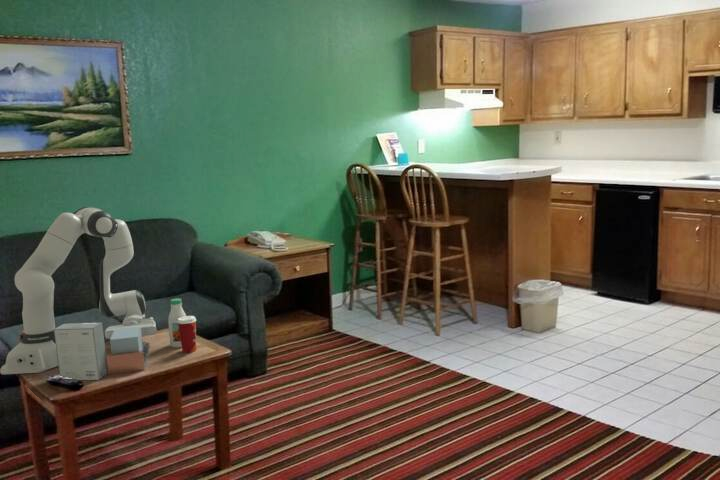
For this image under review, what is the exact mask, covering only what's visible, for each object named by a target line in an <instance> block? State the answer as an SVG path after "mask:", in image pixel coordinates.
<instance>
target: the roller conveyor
mask: <svg viewBox="0 0 720 480" xmlns="http://www.w3.org/2000/svg"><path fill="white" fill-rule="evenodd" d="M142 344H143V350H142V351H135V352H126V353H118V354H112V353H110V354H109V353H108V354H106V360H107V368H108V373H107V374H108V375H113V374H121V373H129V372H135V371H136V372H138V371H145V368H146V364H147V359H148V357H149V352H150V342H145V341H142Z"/></svg>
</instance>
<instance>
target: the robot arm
mask: <svg viewBox="0 0 720 480" xmlns="http://www.w3.org/2000/svg"><path fill="white" fill-rule="evenodd" d="M83 234H87V235H89V236H93V237H97V238H102V239H103V242H104V248H105V255H104V258H103V259H101V261H100V264H99V305H98V306H99V307H98V308H99V313H100V314H101V315H102V316H104V317H105V318H108V319H111V318H116V317H118V316H123V315H125V317H124V319H123V321H122V324H117V325H112V326H111V325H110V326H108V327H107V328H106V329H105V330H104V339H106V340H110V339H111V336H112V334H113V332H114V329H123V328H132V327H141V334H142V336H148V335H156V334H157V325H156V324H157V323H156V321H155V320H154V317H152V316H146V315H145V313H146V312H147V302H146V299H145V296H144V294H143V293H142V292H141V291H140V290H137V289H134V290H133V289H132V290H129V291H122V292H117V293H112V292H111V275H112V274H113V273H114V272H116V271H117V270H119V269H121V268H123V267H124V266H126V265H128V264H129V263H130V262H131V261H132V259H133V257H134V255H135V254H134V253H135V252H134V243H133V239H132V235H131V231H130V230H129V226H128V225H127V223H126V222H125V220H122V219H118V218H117V219H114V217H113V216H112V215H111V214H110V213H109V212H107V211H104V210H102V209H100V208H98V207H92V206H83V207H81V208H78V209H77V210H76V211H74V212H73V213H72V212H62V213H61V214H59V215H58V216H57V217H56V219H54V221H53V222H52V224H51V225H50V227H49V228H48V229H47V231H46V233H45V234H44V236H43V237H42V239H41V241H40V242H39V244H38V246H37V247H36V249H35V250H34V252H32V254H31V255H30V257H29V258H28V259H27V260H26V261H25V262H24V264H23V265H22V267H21V268H20V269H18V271H16V272H15V275H14V286H15V287H16V289H17V290H18V291H19V292H21V294H22V312H21V316H22V322H23V323H22V324H23V330H22V331H21V332H20V334H19V337H18V341H19V343H18V344H17V345H16V346H15V347H14V348H12V349H11V350H10V351H9V352H8V353H7V356H6V360H5V364H3V365H2V366H1V368H0V374H1V375H19V374H21V375H22V374H33V373H34V374H36V373H37V374H38V373H42V372H45V371H46V370H49V369H53V368H56V367H59V366H58V359H57V351H56V344H55V336H54V329H55V328H57V327H56V324H55V323H56V322H55V315H54V314H55V313H54V312H55V311H54V301H55V300H54V298H55V297H54V295H55V287H56V286H55V282H54V279H53V277H52V275H53V274H54V273H55V272H56V270H58V268H60V266H61V265H63V264H64V263H65V261H66V259H67V257H68V256H69V254H70V253H71V250H72V249H73V247H74V246H75V244H76V242H77V240H78V238H80V237H81V236H82V235H83Z"/></svg>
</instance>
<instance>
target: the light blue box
mask: <svg viewBox="0 0 720 480" xmlns="http://www.w3.org/2000/svg"><path fill="white" fill-rule="evenodd" d="M142 342H143V335H142V334H141V327H132V328H123V329H114V332H113V334H112V336H111V339H109V343H110V352H111V353H110V354H118V353H126V352H135V351H142V350H143V344H142Z"/></svg>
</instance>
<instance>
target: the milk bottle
mask: <svg viewBox="0 0 720 480" xmlns="http://www.w3.org/2000/svg"><path fill="white" fill-rule="evenodd" d="M169 301H170V311H169V314H168V320H167V322H168V332H169V345H170V347H171V348H182V346H181V339H180V333H179V326H178V323H177V321H178V318H180V317H183V316H187V314H186V313H185V311H184V309H183V301H182V298H177V297H176V298H171V299H170V300H169Z"/></svg>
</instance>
